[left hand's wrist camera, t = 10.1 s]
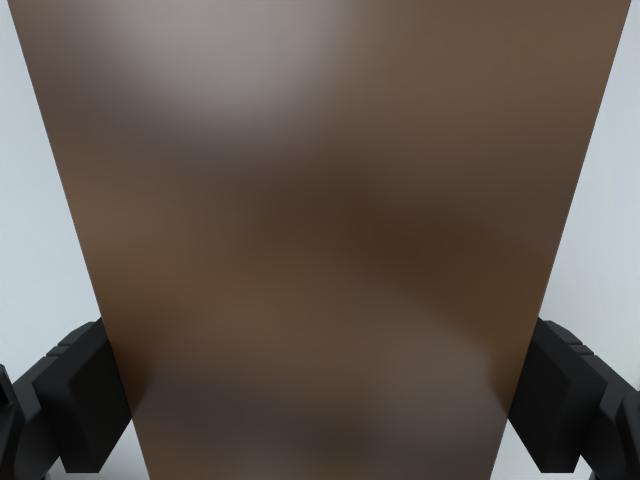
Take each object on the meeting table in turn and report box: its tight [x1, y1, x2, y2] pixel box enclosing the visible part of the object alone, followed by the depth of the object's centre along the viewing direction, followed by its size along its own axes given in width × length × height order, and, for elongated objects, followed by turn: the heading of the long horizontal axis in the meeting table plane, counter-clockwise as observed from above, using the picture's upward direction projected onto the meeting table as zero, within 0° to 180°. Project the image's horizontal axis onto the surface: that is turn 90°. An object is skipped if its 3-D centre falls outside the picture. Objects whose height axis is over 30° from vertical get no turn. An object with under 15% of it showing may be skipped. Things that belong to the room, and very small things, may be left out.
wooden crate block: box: [7, 0, 631, 480], centre depth 11 cm, size 20×10×9 cm, turn 0°
